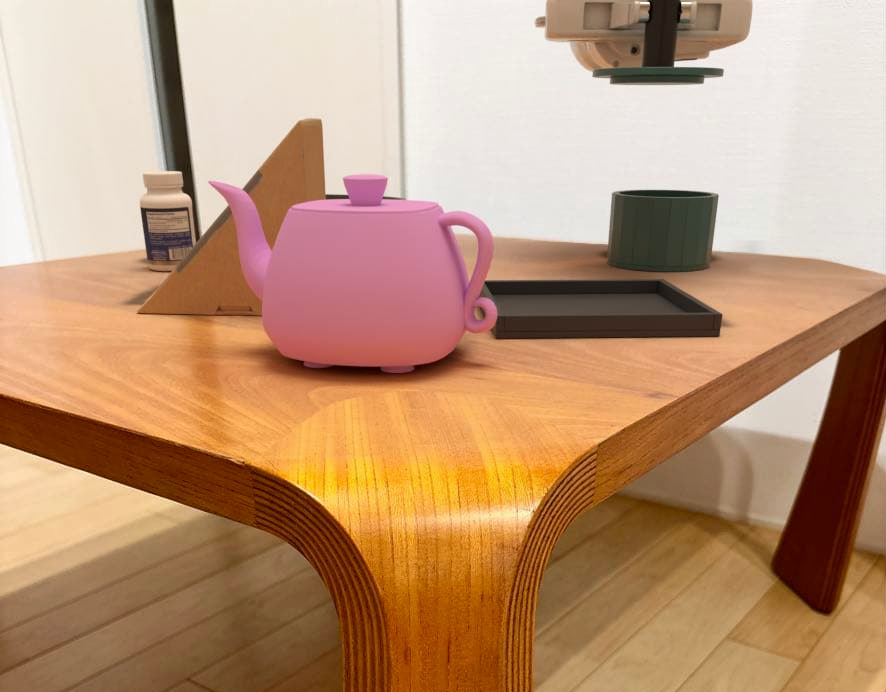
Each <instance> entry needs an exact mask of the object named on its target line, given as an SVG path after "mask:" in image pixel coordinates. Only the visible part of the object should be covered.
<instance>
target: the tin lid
mask: <svg viewBox="0 0 886 692" xmlns="http://www.w3.org/2000/svg"><path fill="white" fill-rule="evenodd" d="M647 1H650V9H649V11H648V13H649V20H648V23H645V34H644V45H643V57H642V67H627V68H605V69H595V70H593V72H592V78H595V79H609V85H618V86H689V85H690V86H691V85H694V86H695V85H704V83H705V79H711V78H712V79H713V78H722V77H724V72H725V68H720V67H705V66H703V67H700V66H697V67H696V66H675V62H676V61H675V51H676V41H677V31H678V20H679V10H680V0H647ZM674 61H675V62H674Z"/></svg>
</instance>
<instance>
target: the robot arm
mask: <svg viewBox="0 0 886 692" xmlns="http://www.w3.org/2000/svg"><path fill="white" fill-rule="evenodd" d="M753 3H754V2H753V0H680V10H679V20H678V31H677V41H676V51H675V61H674V63H675V62H684V61H685V62H687V61H697V60H705V59H707V58H709V56H710V53H711V52H712V51H713V52H714V51H719V50H723V49H727V48H729V47H732V46H735V45H737V44H739V43H742V42H744V41H745V40H746V39H747V38H748V37H749V34H750V30H751V25H752V16H753ZM649 9H650V1H647V0H546V1H545V12H544V15H543V16H541V15H540V16H537V17H536V18H535V21H534V25H535V28H537V29H544V38H545V39H544V40H546V41H548V42H555V43H569V47H570V50H571V52H572V55H573V56H574V58H575V60H576V61H577V62H578V64H579V65H580V66H581V67H583V68H584V69H585V70H586V71H589V72H590V73H593V70H595V69H605V68H627V67H642V57H643V45H644V34H645V23H648V20H649V13H648V11H649Z"/></svg>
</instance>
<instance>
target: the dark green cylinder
mask: <svg viewBox="0 0 886 692" xmlns="http://www.w3.org/2000/svg"><path fill="white" fill-rule="evenodd" d="M719 197H720V196H719V193H715V192H709V191H699V190H687V189H685V190H684V189H626V190H617V191H613V192H611V202H610V215H609V226H608V227H609V229H608V240H607V241H608V242H607V252H606V253H607V255H606V256H607V257H606V260H607V261H606V262H607V264H608V265H610V266H612V267H615V268H619V269H626V270H632V271H643V272H661V273H663V272H664V273H668V272H669V273H672V272H673V273H674V272H675V273H678V272H694V271H702V270H705V269H708V268H711V267H710V266H711V262H712V255H713V247H714V238H715V231H716V230H715V229H716V221H717V214H718V205H719Z"/></svg>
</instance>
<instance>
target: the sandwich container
mask: <svg viewBox="0 0 886 692" xmlns="http://www.w3.org/2000/svg"><path fill="white" fill-rule="evenodd" d="M324 152H325V151H324V131H323V121H322V119H321V118H314V117H313V118H311V117H309V118H307V117H306V118H304V119H299V120H298V121H297V122H296V123H295V124H294V125H293V126H292V128H291V129H290V130H289V132H288V133H287V134H286V135H285V137H284V138H283V139H282V140H281V141H280V143H279V144H278V145H277V146H276V147H275V148H274V150H273V151H272V152H271V154H270V155H269V156H268V157H267V158H266V160H265V161H264V162H263V163H262V164H261V166H259V168H258V169H257V170H256V171H255V173H254V174H253V175H252V177H251V178H250V179H249V181H247V183H246V184H245V185H244V187H243V188H241V189H242V190H244V191H245V192H246V193H247V194H248V195H249V197H250V198H251V199H252V201H253V203H254V205H255V207H256V209H257V212H258V215H259V218H260V222H261V225H262V229H263V233H264V236H265V239H266V241H267V244H268V245H269V247H270V249H271V250H273V247H274V244H275V241H276V239H277V236H278V233H279V231H280V228H281V225H282V223H283V220H284V218H285V216H286V214H287V212H288V210H289V209H290V208H291V207H292V206H293V205H296V204H300V203H305V202H310V201H317V200H326V176H325V175H326V173H325V172H326V171H325V153H324ZM136 313H137V314H167V315H168V314H171V315H209V316H210V315H212V316H214V315H215V316H216V315H223V316H224V315H226V316H227V315H230V316H233V315H234V316H262V301H261V300H260V299H259V298H258V297H257V296H256V295H255V294H254V292H253V291H252V290H251V288H250V287H249V285H248V283H247V281H246V279H245V277H244V275H243V271H242V267H241V264H240V257H239V248H238V238H237V230H236V225H235V220H234V216H233V214H232V211H231V208H230V206H229V205H228V204H227V206H226V208H224V209H223V211H222V212H221V213H220V214H219V215H218V216H217V218H216V219H215V220H214V221H213V223H212V224H211V225H210V226H209V228H207V230H206V231H205V232H204V233H203V235H201V237H199V239H198V240H197V243H196V244H195V245H194V246H193V247H192V249H191V250H190V251H189V252H188V253H187V254H186V256H185V257H184V258H183V259H182V260H181V261H180V263H179V264H178V265H177V266H176V267H175V268H174V269H173V271H170V273H169V274H168V275H167V276H166V277H165V278H164V279H163V281H161V283H160V284H159V285H158V287H157V288H155V290H154V291H153V292H152V294H151V295H150V296H149V297H148V298H147V299H146V300H145V302H143V304H142V305H141V306H140V307H139V308H138V309H137V310H136Z"/></svg>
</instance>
